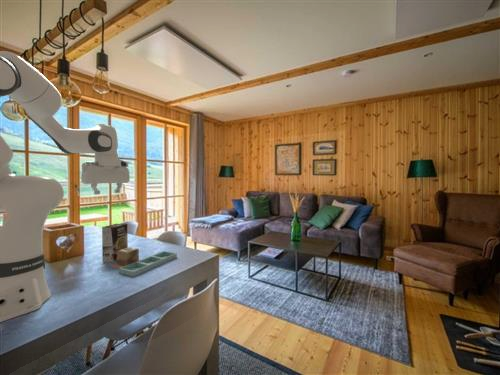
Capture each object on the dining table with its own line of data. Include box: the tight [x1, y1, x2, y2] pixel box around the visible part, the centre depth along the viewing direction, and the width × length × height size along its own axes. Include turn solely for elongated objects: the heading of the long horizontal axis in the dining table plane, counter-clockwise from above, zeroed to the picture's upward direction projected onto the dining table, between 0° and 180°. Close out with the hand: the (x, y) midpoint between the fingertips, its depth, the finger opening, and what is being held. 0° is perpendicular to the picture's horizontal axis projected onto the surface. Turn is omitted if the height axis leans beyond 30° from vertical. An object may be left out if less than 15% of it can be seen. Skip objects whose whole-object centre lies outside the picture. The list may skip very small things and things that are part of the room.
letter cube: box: [116, 246, 140, 266], centre depth 103 cm, size 6×6×6 cm
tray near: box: [118, 262, 151, 278], centre depth 96 cm, size 8×8×2 cm
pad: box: [111, 263, 124, 269], centre depth 103 cm, size 9×9×1 cm
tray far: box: [151, 250, 178, 264], centre depth 110 cm, size 8×8×2 cm
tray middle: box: [137, 255, 165, 270], centre depth 103 cm, size 8×8×2 cm
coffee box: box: [101, 223, 129, 263], centre depth 110 cm, size 9×6×16 cm
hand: (107, 193), depth 105 cm, fingers open, 8 cm apart
